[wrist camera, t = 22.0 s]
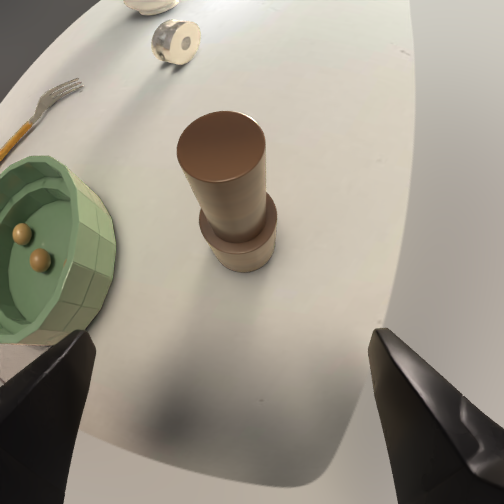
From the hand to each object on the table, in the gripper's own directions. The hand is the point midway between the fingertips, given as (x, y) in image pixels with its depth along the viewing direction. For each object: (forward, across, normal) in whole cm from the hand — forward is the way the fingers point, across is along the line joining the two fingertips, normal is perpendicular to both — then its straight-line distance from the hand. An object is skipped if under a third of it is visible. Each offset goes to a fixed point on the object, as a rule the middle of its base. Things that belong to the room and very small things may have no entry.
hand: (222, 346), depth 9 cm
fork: (+23, +27, -6) cm, 36 cm away
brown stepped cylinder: (+13, 0, +4) cm, 14 cm away
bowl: (+12, +17, +4) cm, 21 cm away
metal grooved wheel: (+29, +7, -11) cm, 32 cm away
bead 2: (+11, +18, +4) cm, 21 cm away
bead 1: (+12, +19, +1) cm, 23 cm away
